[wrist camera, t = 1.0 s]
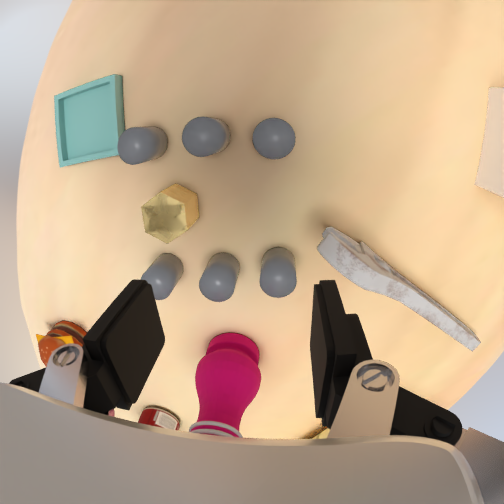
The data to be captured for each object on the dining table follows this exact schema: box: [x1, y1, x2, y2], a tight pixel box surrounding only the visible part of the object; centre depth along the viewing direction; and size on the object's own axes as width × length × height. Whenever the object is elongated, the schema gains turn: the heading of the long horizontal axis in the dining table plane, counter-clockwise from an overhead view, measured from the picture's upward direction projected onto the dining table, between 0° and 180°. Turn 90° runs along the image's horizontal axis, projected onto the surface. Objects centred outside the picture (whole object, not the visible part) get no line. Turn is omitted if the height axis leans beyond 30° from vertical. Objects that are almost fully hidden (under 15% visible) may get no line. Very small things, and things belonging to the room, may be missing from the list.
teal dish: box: [54, 74, 125, 167], centre depth 24 cm, size 8×8×2 cm
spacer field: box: [117, 117, 297, 302], centre depth 26 cm, size 16×15×4 cm
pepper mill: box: [189, 333, 261, 438], centre depth 25 cm, size 7×7×20 cm
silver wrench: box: [317, 227, 481, 351], centre depth 27 cm, size 8×2×30 cm
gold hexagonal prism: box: [141, 184, 199, 244], centre depth 26 cm, size 5×4×4 cm
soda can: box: [138, 408, 180, 430], centre depth 37 cm, size 7×7×12 cm
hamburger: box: [36, 321, 87, 367], centre depth 35 cm, size 9×10×7 cm
